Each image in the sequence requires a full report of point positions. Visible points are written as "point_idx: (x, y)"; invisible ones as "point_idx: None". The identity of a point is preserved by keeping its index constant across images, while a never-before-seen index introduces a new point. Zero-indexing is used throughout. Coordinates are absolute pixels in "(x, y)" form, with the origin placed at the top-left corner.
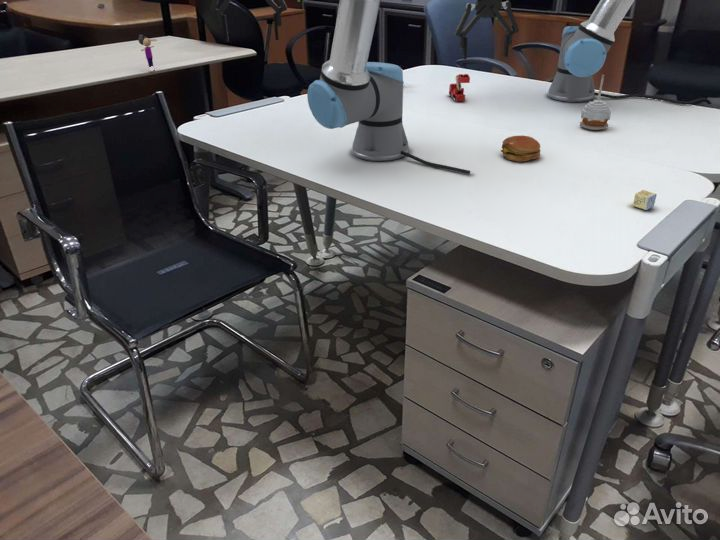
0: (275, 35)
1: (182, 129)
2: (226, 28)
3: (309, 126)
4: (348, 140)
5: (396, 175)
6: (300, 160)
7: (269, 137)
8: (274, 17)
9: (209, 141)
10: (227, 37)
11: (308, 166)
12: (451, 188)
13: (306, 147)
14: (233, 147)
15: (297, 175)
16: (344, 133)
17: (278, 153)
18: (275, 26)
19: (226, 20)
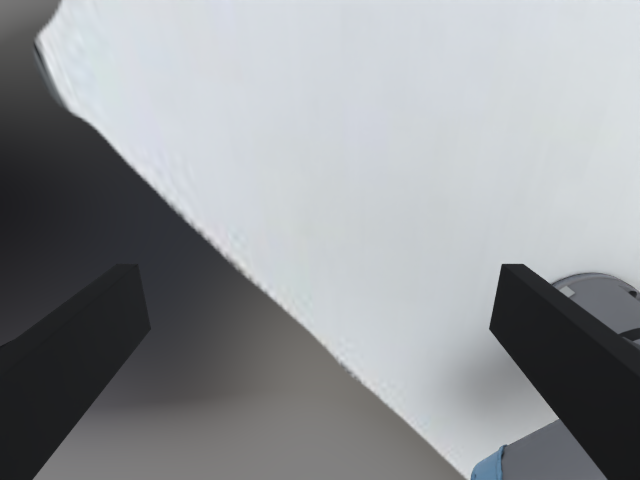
0: (506, 350)
1: (61, 66)
2: (94, 384)
3: (455, 102)
4: (532, 243)
5: None
6: (404, 346)
7: (337, 189)
8: (614, 477)
9: (182, 198)
10: (135, 347)
11: (416, 375)
12: None
13: (425, 276)
14: (254, 252)
15: (393, 408)
16: (538, 187)
17: (360, 304)
18: (554, 399)
19: (22, 361)
